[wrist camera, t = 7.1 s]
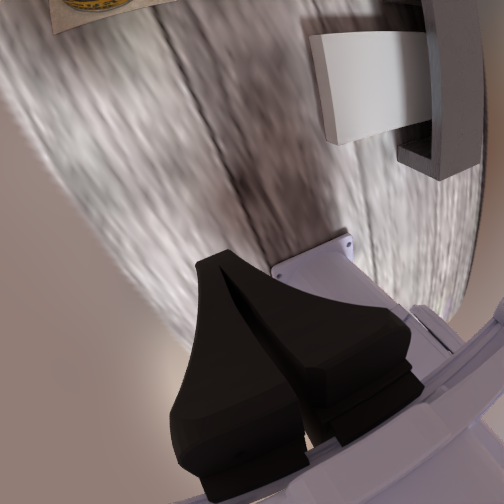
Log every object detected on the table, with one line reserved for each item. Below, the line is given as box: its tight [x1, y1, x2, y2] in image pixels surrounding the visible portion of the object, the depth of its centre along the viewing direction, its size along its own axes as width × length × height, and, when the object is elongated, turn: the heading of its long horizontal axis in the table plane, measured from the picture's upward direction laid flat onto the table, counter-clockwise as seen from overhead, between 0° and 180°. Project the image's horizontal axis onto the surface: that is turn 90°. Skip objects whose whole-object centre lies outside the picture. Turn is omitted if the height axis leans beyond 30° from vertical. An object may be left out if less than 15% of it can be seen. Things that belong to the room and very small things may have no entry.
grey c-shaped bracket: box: [383, 0, 484, 181], centre depth 20 cm, size 16×7×5 cm, turn 13°
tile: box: [309, 31, 432, 146], centre depth 21 cm, size 8×13×2 cm, turn 104°
